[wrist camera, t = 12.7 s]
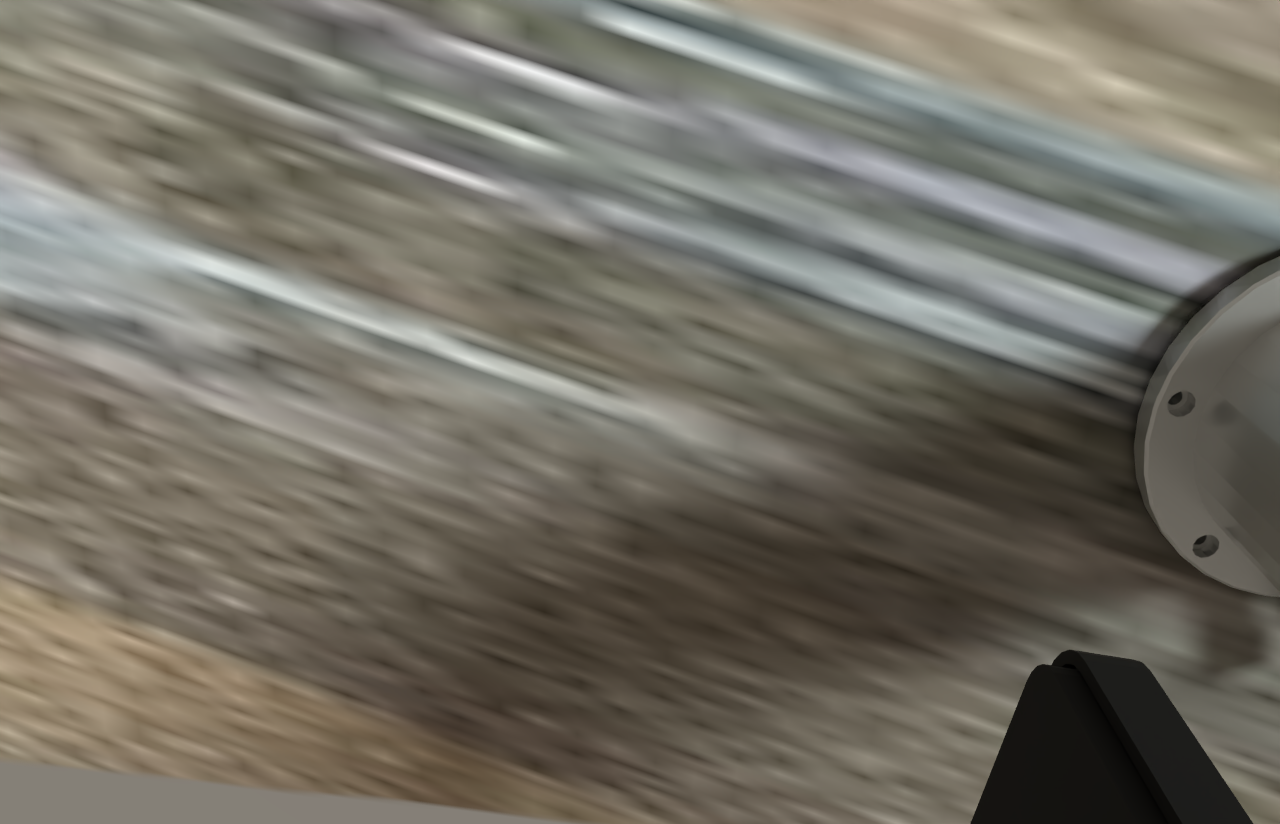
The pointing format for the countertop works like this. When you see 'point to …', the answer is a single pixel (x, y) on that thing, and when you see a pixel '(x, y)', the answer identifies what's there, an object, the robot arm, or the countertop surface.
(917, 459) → the countertop surface
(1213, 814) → the robot arm
